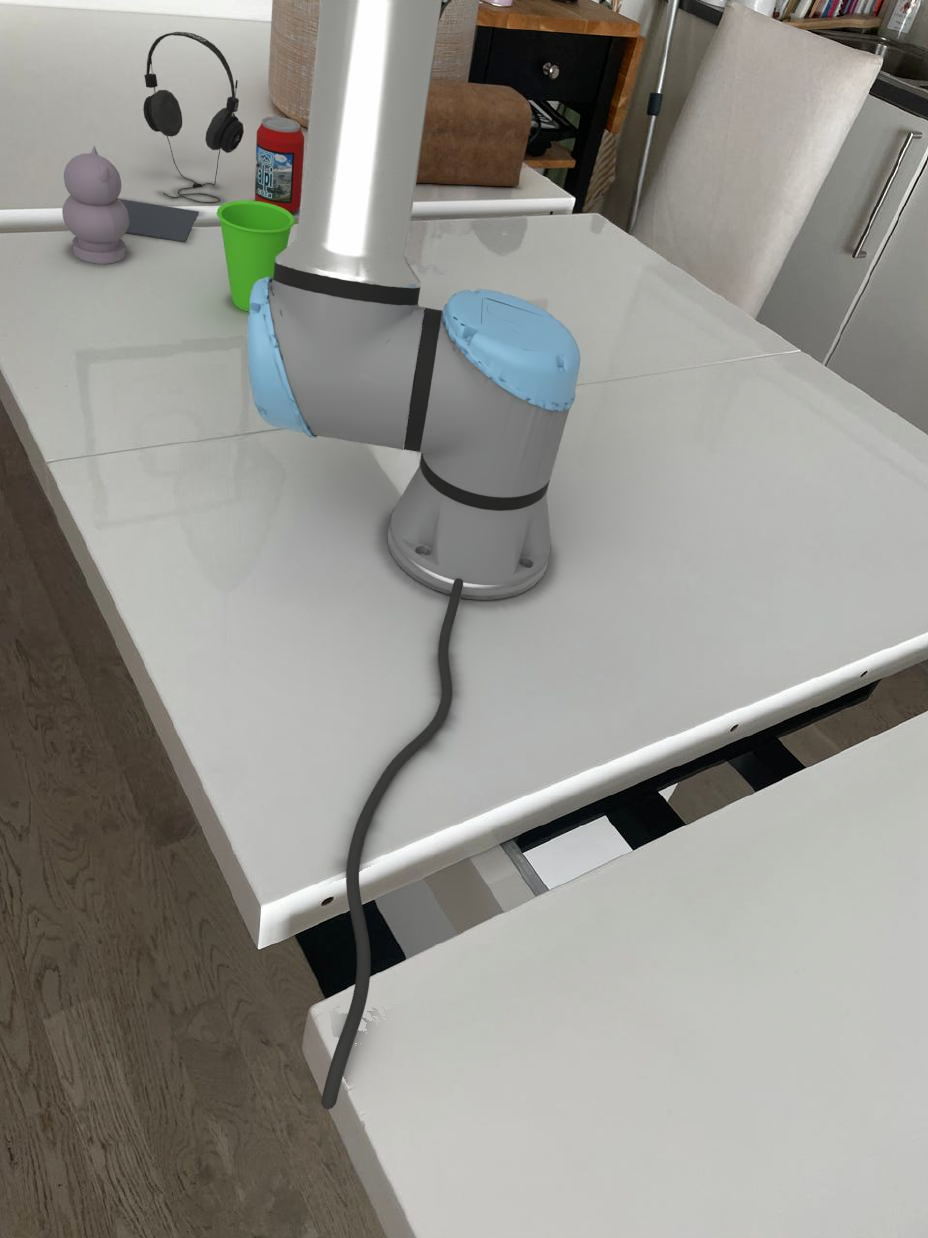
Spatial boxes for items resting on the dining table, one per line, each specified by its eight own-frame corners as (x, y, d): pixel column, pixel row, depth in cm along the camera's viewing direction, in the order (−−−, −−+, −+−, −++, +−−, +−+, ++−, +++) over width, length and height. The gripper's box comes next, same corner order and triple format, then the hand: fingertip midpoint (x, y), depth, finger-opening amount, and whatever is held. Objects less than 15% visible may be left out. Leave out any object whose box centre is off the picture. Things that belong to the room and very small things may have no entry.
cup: (207, 288, 124) (207, 199, 116) (277, 286, 127) (282, 200, 120) (226, 321, 118) (228, 230, 111) (299, 318, 122) (305, 230, 115)
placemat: (185, 241, 133) (185, 240, 133) (100, 229, 131) (100, 227, 131) (198, 212, 141) (198, 211, 141) (119, 200, 139) (119, 198, 139)
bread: (520, 189, 173) (538, 102, 163) (333, 181, 160) (341, 85, 150) (490, 160, 182) (505, 76, 172) (311, 150, 169) (317, 58, 159)
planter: (468, 113, 203) (498, -75, 181) (448, 167, 175) (481, -48, 154) (293, 75, 201) (303, -119, 180) (244, 123, 174) (249, -100, 152)
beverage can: (245, 206, 146) (247, 119, 138) (272, 195, 150) (275, 111, 143) (282, 220, 144) (287, 133, 136) (309, 210, 149) (314, 125, 141)
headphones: (119, 181, 144) (110, 27, 131) (161, 163, 153) (156, 16, 140) (211, 210, 142) (211, 56, 129) (248, 189, 151) (252, 43, 138)
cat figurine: (59, 239, 127) (49, 141, 119) (122, 238, 130) (116, 142, 122) (73, 268, 121) (64, 167, 114) (138, 265, 125) (133, 168, 117)
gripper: (486, -78, 110) (430, 145, 121) (385, -106, 113) (340, 114, 124) (460, -99, 104) (404, 139, 114) (355, -128, 107) (309, 107, 117)
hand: (371, 126), depth 119 cm, fingers closed
